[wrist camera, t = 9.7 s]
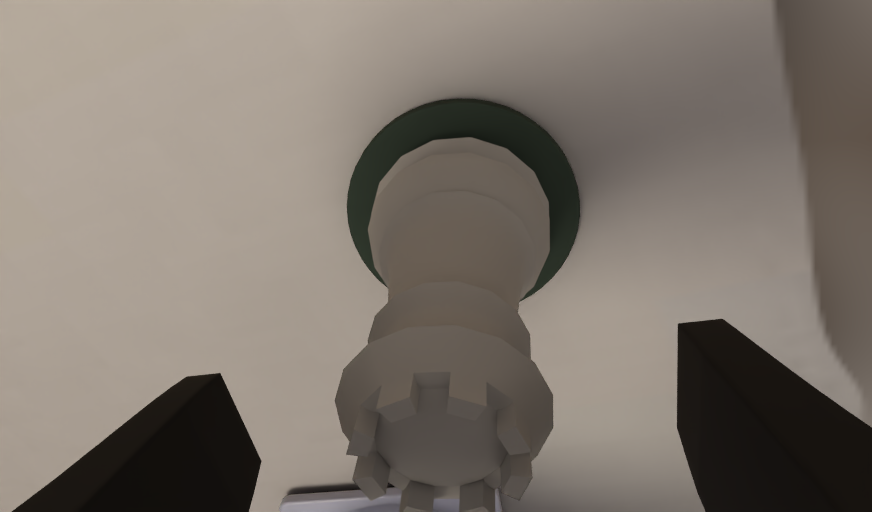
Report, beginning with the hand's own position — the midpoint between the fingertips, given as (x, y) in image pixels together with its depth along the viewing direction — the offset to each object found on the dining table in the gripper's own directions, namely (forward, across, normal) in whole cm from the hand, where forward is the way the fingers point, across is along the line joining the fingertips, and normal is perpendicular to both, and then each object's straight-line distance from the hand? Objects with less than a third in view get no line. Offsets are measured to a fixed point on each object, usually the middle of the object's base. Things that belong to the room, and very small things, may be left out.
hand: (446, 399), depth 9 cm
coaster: (+7, 0, 0) cm, 7 cm away
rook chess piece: (+7, 0, 0) cm, 7 cm away
